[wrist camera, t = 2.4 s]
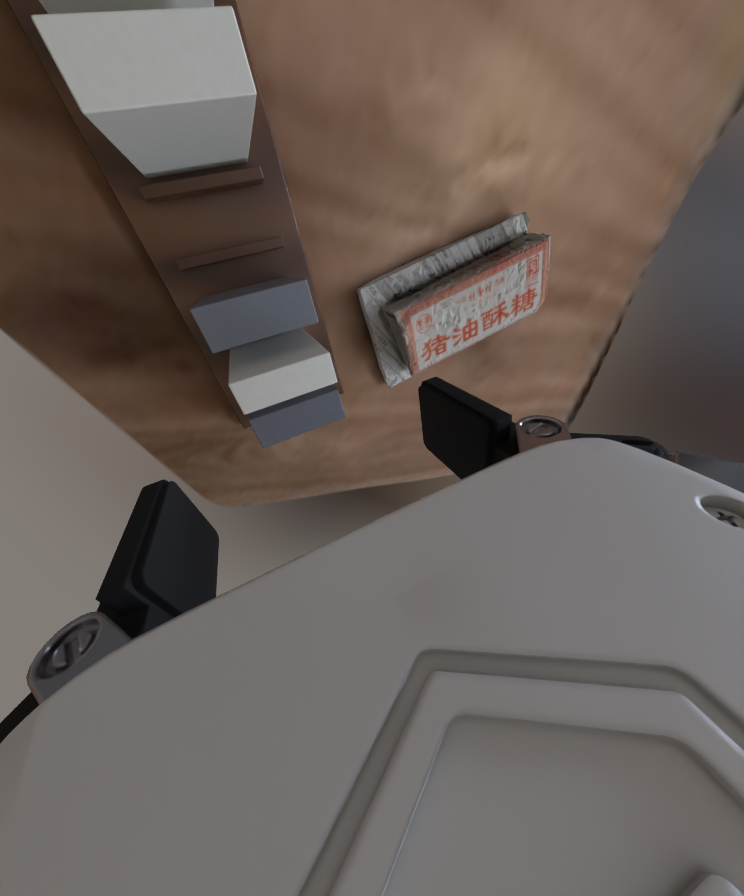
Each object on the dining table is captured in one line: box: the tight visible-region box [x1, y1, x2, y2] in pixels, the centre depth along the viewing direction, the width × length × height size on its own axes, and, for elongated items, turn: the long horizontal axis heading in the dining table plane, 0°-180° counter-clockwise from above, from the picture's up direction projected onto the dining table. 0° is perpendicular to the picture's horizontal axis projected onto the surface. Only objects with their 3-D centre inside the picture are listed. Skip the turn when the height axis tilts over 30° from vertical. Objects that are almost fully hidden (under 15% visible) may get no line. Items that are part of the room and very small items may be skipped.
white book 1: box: [31, 6, 257, 178], centre depth 13 cm, size 2×6×9 cm, turn 102°
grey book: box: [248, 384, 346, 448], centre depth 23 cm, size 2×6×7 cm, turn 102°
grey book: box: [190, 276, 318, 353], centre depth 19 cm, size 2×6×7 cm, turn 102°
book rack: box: [7, 0, 343, 428], centre depth 20 cm, size 24×10×2 cm, turn 12°
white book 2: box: [228, 328, 337, 415], centre depth 20 cm, size 2×6×9 cm, turn 101°
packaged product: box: [357, 212, 551, 388], centre depth 27 cm, size 18×5×10 cm
